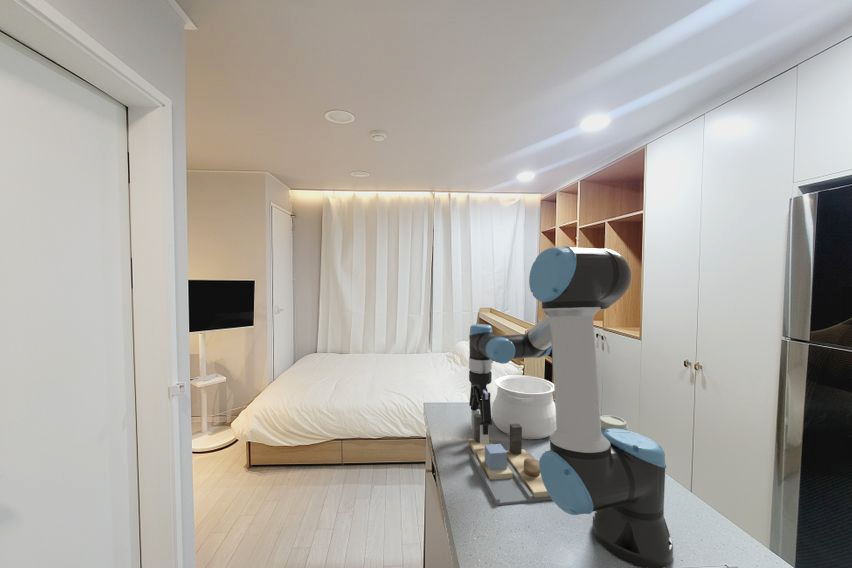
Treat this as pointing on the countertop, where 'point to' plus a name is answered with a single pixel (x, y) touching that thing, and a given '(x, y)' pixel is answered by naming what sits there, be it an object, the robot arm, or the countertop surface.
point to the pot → (525, 405)
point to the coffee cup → (612, 423)
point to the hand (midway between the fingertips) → (479, 435)
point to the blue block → (495, 457)
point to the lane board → (507, 487)
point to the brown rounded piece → (531, 467)
